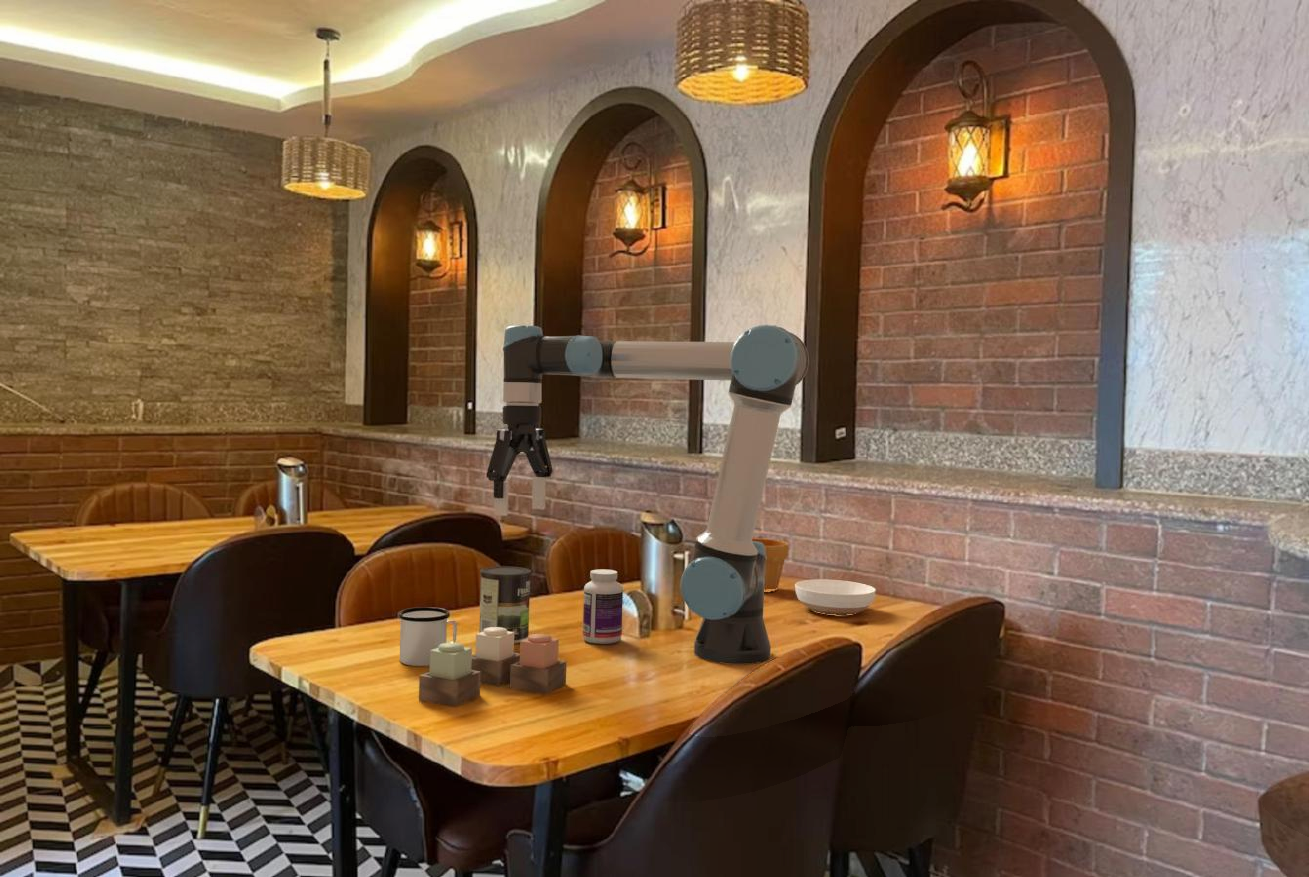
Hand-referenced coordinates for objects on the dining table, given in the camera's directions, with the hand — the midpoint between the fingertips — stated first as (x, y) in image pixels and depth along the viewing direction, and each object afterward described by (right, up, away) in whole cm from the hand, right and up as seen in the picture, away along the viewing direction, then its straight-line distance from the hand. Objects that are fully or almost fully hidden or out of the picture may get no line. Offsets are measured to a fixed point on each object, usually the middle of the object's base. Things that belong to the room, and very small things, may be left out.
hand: (520, 512), depth 192 cm
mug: (-16, -27, -11) cm, 33 cm away
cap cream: (-2, -26, -21) cm, 33 cm away
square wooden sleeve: (-2, -28, -21) cm, 35 cm away
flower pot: (+55, -27, +71) cm, 93 cm away
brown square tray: (-7, -28, -33) cm, 44 cm away
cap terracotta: (+7, -26, -25) cm, 37 cm away
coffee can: (-4, -27, +7) cm, 28 cm away
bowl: (+71, -28, +46) cm, 89 cm away
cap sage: (-7, -26, -33) cm, 43 cm away
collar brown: (+6, -28, -25) cm, 38 cm away
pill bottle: (+16, -27, +8) cm, 33 cm away
